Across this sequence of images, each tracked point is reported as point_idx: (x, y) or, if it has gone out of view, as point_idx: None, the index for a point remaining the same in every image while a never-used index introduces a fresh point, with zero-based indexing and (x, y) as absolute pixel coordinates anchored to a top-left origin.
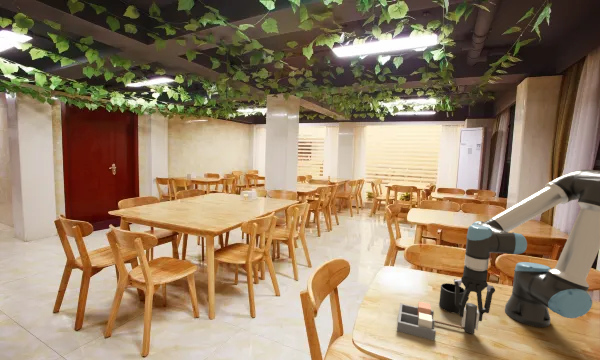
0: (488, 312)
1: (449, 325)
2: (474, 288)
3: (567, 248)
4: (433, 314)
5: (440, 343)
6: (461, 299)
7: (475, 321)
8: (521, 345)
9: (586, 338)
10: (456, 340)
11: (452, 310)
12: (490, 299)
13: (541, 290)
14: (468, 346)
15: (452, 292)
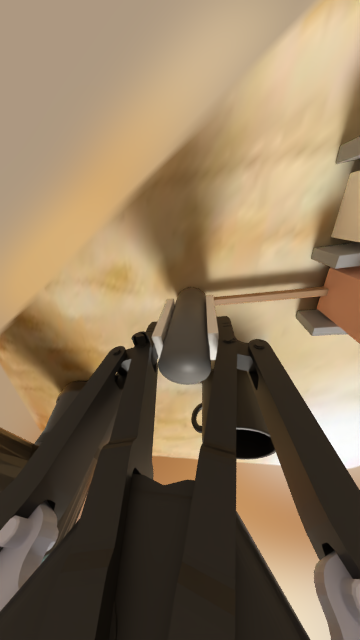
0: (112, 350)
1: (251, 294)
2: (149, 549)
3: None
4: (308, 321)
5: (315, 136)
6: None
7: (171, 317)
8: (76, 308)
9: (18, 380)
10: (234, 221)
11: None
12: (62, 422)
13: None
14: (194, 205)
15: (246, 428)
